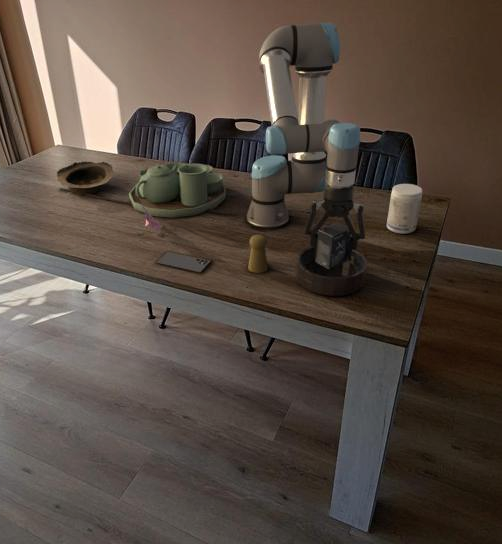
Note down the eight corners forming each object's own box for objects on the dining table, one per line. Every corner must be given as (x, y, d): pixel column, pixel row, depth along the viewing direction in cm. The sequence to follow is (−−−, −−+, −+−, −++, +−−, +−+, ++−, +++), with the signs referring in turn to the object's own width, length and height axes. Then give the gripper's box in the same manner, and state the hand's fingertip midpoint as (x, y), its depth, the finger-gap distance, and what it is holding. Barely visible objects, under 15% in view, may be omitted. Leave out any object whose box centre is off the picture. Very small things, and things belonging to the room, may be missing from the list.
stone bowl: (87, 174, 238) (85, 155, 233) (127, 187, 226) (126, 168, 221) (47, 192, 221) (44, 172, 216) (88, 207, 209) (85, 186, 204)
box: (329, 269, 142) (332, 236, 137) (314, 262, 146) (317, 229, 141) (348, 260, 146) (352, 228, 140) (333, 253, 150) (337, 221, 144)
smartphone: (168, 251, 169) (210, 259, 162) (168, 253, 169) (210, 261, 162) (156, 262, 163) (200, 271, 156) (156, 263, 164) (200, 272, 157)
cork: (246, 264, 160) (246, 233, 154) (265, 262, 160) (265, 231, 154) (250, 273, 155) (250, 242, 149) (269, 271, 155) (270, 240, 149)
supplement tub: (400, 220, 179) (407, 181, 171) (421, 230, 172) (430, 190, 164) (379, 226, 176) (385, 187, 168) (400, 237, 168) (408, 196, 161)
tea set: (240, 186, 215) (240, 148, 206) (199, 225, 185) (196, 183, 177) (160, 175, 231) (157, 140, 223) (110, 210, 202) (104, 171, 193)
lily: (151, 246, 176) (162, 223, 172) (123, 230, 178) (134, 206, 174) (163, 240, 187) (174, 218, 183) (137, 225, 189) (147, 203, 185)
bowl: (291, 293, 144) (293, 274, 141) (300, 259, 160) (301, 241, 157) (363, 301, 139) (366, 282, 135) (364, 266, 154) (367, 247, 151)
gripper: (296, 186, 134) (292, 259, 145) (383, 191, 127) (371, 267, 139) (299, 176, 140) (295, 247, 151) (382, 181, 133) (371, 254, 145)
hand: (332, 257), depth 145 cm, fingers closed on box, 9 cm apart
